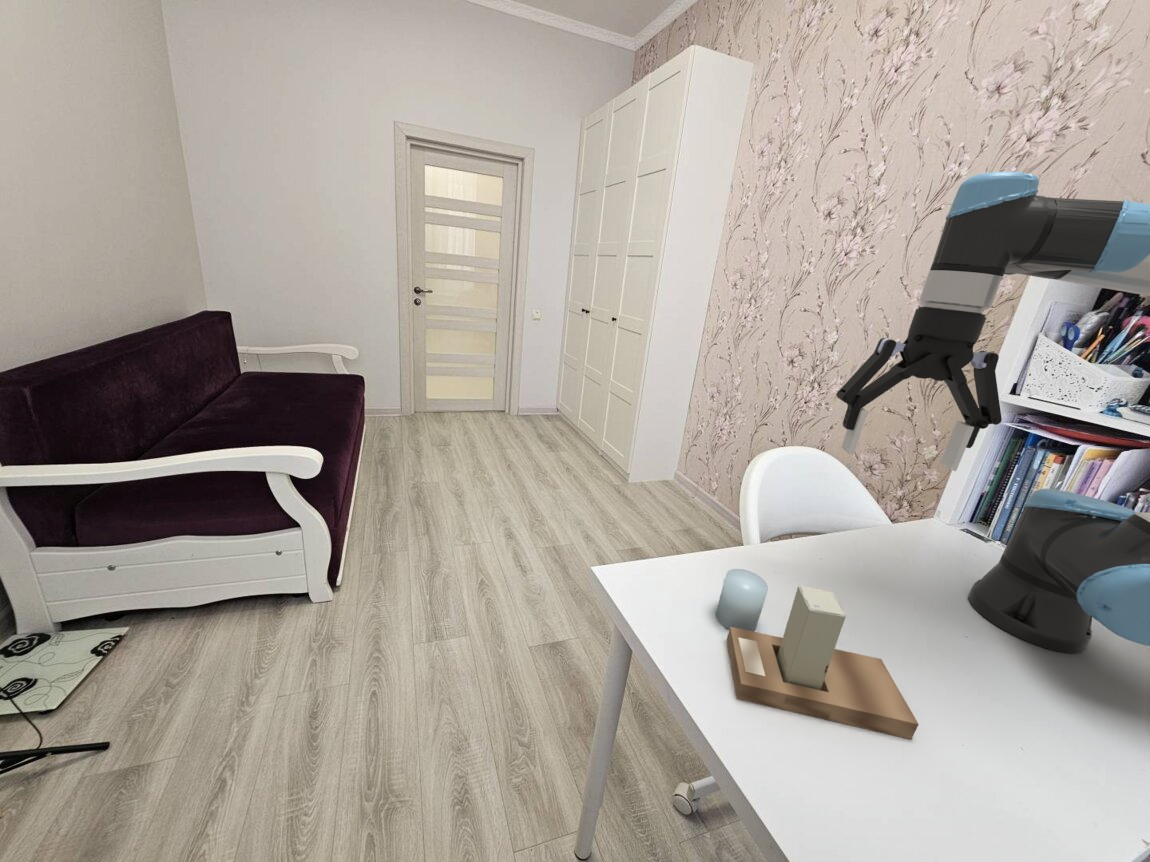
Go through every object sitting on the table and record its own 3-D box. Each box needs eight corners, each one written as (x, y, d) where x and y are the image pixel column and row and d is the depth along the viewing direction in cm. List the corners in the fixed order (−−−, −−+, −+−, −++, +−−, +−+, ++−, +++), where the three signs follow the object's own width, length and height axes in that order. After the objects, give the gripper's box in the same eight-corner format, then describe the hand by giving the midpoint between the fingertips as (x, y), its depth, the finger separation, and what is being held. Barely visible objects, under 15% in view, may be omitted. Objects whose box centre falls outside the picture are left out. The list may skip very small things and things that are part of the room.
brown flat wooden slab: (875, 672, 65) (881, 658, 64) (911, 739, 55) (919, 723, 54) (726, 640, 67) (730, 626, 66) (736, 698, 58) (741, 683, 57)
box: (817, 702, 59) (849, 618, 55) (781, 693, 59) (809, 610, 55) (806, 669, 64) (833, 590, 60) (772, 661, 64) (797, 583, 60)
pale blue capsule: (751, 610, 74) (762, 572, 72) (760, 637, 69) (773, 598, 66) (712, 602, 75) (722, 565, 72) (719, 629, 69) (730, 590, 67)
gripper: (1036, 318, 63) (974, 464, 70) (840, 295, 66) (800, 436, 73) (1083, 323, 56) (1009, 485, 63) (861, 297, 59) (814, 453, 66)
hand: (896, 459), depth 68 cm, fingers open, 13 cm apart
